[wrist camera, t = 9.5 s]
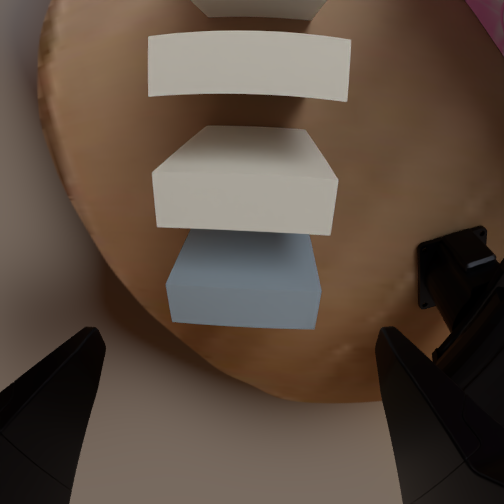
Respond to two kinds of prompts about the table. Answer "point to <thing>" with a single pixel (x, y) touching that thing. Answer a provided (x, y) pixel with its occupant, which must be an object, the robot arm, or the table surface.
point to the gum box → (491, 18)
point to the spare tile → (245, 280)
